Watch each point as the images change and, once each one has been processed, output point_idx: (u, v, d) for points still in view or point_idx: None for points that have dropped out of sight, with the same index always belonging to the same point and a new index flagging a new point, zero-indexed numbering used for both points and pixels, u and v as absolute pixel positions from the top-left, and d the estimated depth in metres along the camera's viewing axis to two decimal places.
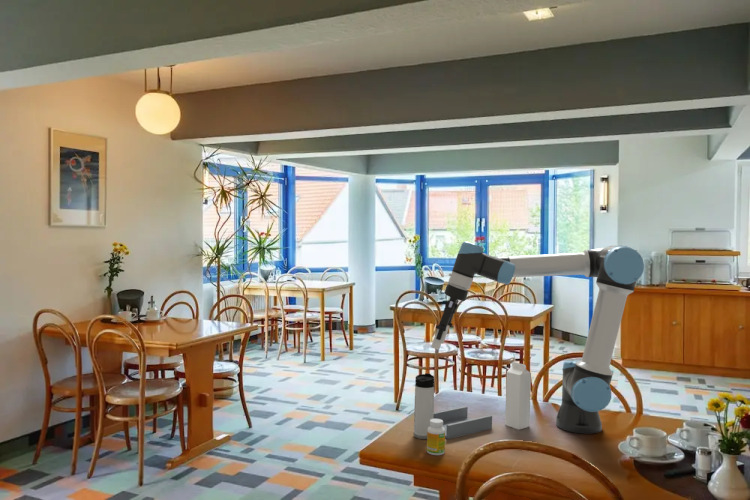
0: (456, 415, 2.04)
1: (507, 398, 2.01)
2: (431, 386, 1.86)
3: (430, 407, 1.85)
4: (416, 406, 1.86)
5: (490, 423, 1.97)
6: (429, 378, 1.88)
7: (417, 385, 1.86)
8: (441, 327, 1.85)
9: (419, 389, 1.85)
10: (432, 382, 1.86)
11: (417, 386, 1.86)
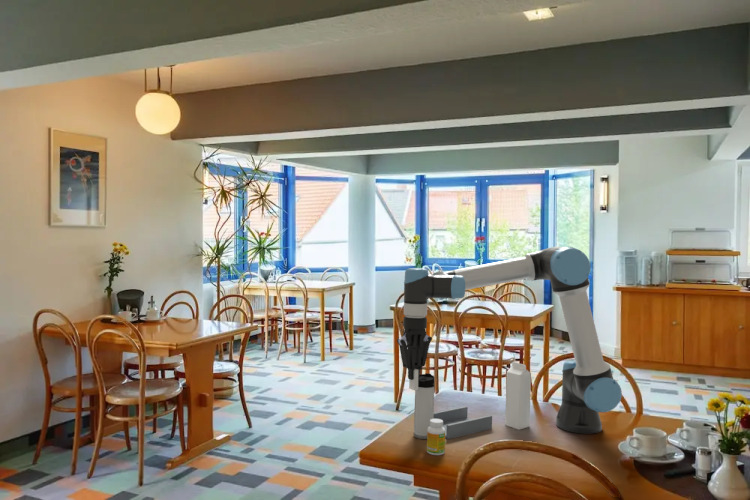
0: (456, 415, 2.04)
1: (507, 398, 2.01)
2: (431, 386, 1.86)
3: (430, 407, 1.85)
4: (416, 406, 1.86)
5: (490, 423, 1.97)
6: (429, 378, 1.88)
7: None
8: (405, 366, 1.83)
9: (419, 389, 1.85)
10: (432, 382, 1.86)
11: None
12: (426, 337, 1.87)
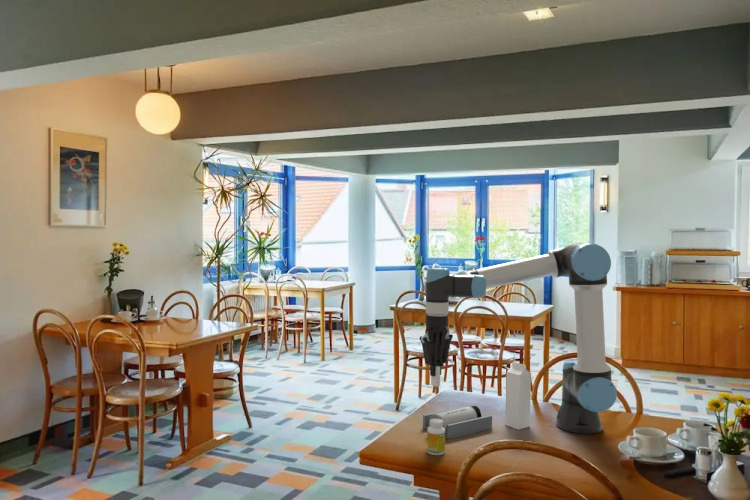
0: None
1: (507, 398, 2.01)
2: None
3: None
4: (461, 412, 1.93)
5: (490, 423, 1.97)
6: None
7: (475, 410, 1.97)
8: (427, 363, 1.88)
9: (474, 413, 1.96)
10: None
11: (475, 410, 1.97)
12: (447, 335, 1.92)
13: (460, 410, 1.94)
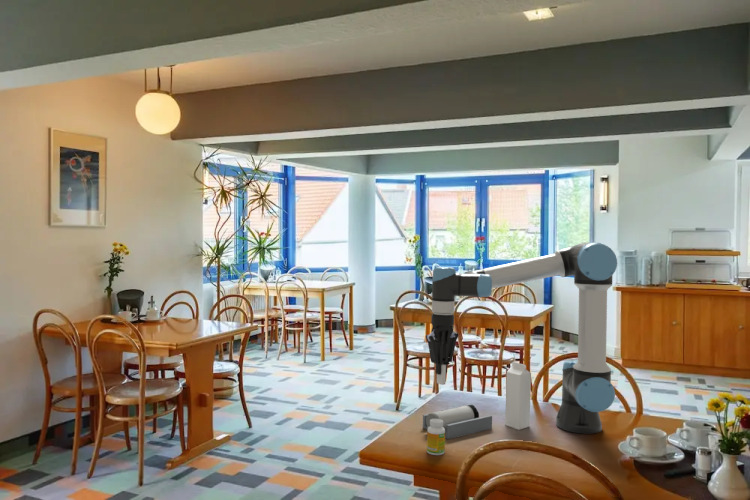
0: None
1: (507, 398, 2.01)
2: None
3: None
4: (455, 409, 1.95)
5: (490, 423, 1.97)
6: None
7: (469, 406, 1.99)
8: (433, 361, 1.90)
9: (469, 408, 1.98)
10: None
11: (469, 406, 1.99)
12: (453, 333, 1.94)
13: (454, 408, 1.96)
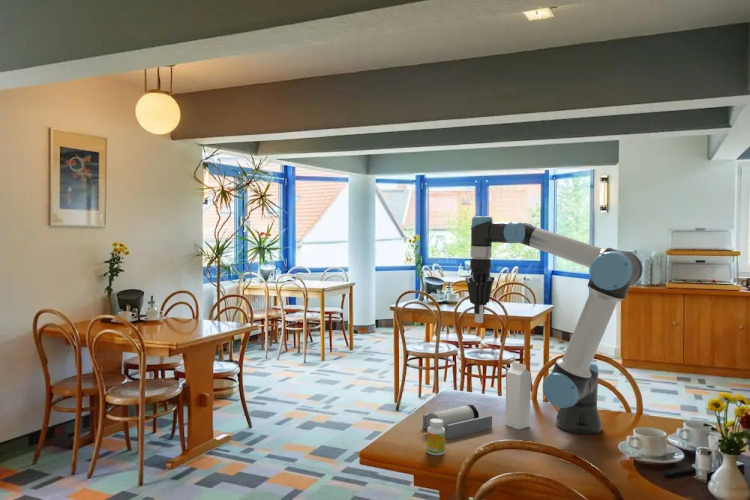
0: None
1: (507, 398, 2.01)
2: None
3: (460, 421, 1.93)
4: (454, 409, 1.95)
5: (490, 423, 1.97)
6: None
7: (469, 406, 1.99)
8: (472, 301, 2.09)
9: (469, 408, 1.98)
10: None
11: (468, 406, 1.99)
12: (489, 277, 2.13)
13: (454, 408, 1.97)
